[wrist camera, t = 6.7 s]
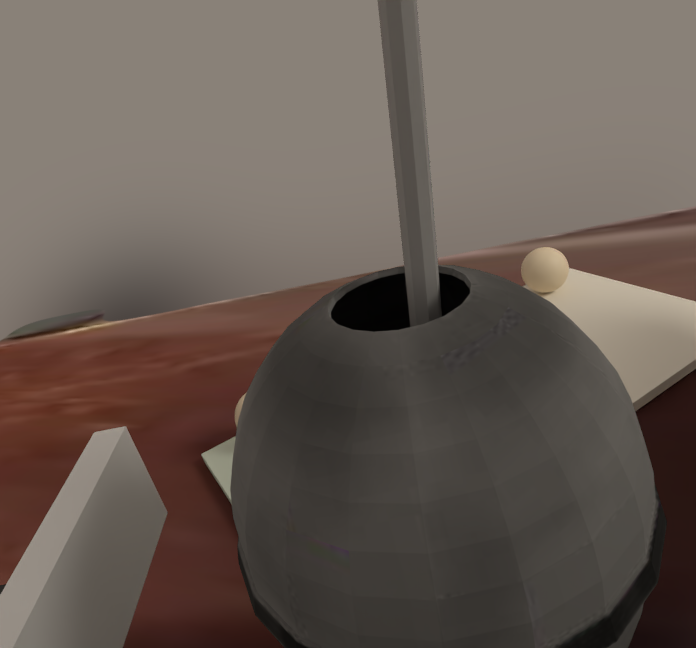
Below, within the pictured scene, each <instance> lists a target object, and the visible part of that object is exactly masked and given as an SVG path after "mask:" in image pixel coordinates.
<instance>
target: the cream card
mask: <svg viewBox="0 0 696 648" xmlns="http://www.w3.org/2000/svg"><path fill="white" fill-rule="evenodd" d="M521 274H522V278H523V280H524V282H525V284H526V285H524V286H522V287H524V288H526V289H528V290H530V291H532V292H534V293H535V294H537V295H539V296H541V297H542V298H544V299H546V300H548V301H550V302H551V303H552V304H554V305H555V306H556V307H557V308H558V309H559V310H560V311H562V312H563V313H564V314H565V315H566V316H567V317H569V318H570V319H571V320H572V321H573V322H574V323H575V324H576V325H577V326H578V327H579V328H580V329H581V330H582V331H583V332H584V333H585V334H586V335H587V336H588V337H589V338H590V339H591V340H592V341H593V342H594V343H595V344H596V345H597V346H598V348H599V349H600V350H601V351H602V353H603V354H604V355H605V357H606V358H607V359H608V360H609V362H610V363H611V364H612V365H613V367H614V368H615V369H616V371H617V372H618V374H619V376H620V378H621V380H622V382H623V384H624V386H625V388H626V390H627V392H628V394H629V396H630V398H631V400H632V403H633V407H634V410H635V411H637V410H638V409H640V408H641V407H642V406H644V405H645V404H647V403H648V402H649V401H651V400H652V399H654V398H655V397H656V396H658V395H659V394H661V393H662V392H664V391H665V390H666V389H668V388H669V387H671V386H672V385H673V384H675V383H676V382H678V381H679V380H680V379H682V378H683V377H685V376H686V375H687V374H689V373H690V372H692V371H693V370H695V369H696V302H695V301H691V300H687V299H684V298H680V297H676V296H672V295H669V294H665V293H661V292H657V291H653V290H650V289H646V288H642V287H638V286H635V285H631V284H627V283H623V282H620V281H616V280H612V279H608V278H604V277H601V276H597V275H593V274H589V273H586V272H582V271H578V270H574V269H570V268H569V266H568V262H567V260H566V258H565V256H564V255H563V254H562V253H561V252H559V251H558V250H556V249H553V248H549V247H542V248H538V249H535V250H533V251H532V252H530V253H529V254H528V255H527V256H526V257H525V259H524V261H523V263H522V267H521Z"/></svg>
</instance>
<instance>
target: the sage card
mask: <svg viewBox="0 0 696 648" xmlns="http://www.w3.org/2000/svg"><path fill="white" fill-rule="evenodd" d="M245 395H246V393H245V394H244V395H243V396H242V398H241V399H240V400H239V402H238V404H237V406H236V410H235V423H236V426H237V424H238V420H239V416H240V412H241V409H242V405H243V401H244V398H245ZM235 439H236V436H235V437H233V438H231V439H229V440H227V441H225V442H224V443H222V444H220V445H218V446H216V447H214V448H212V449H210V450H208V451H206V452H204V453H202V454H201V455H202V457H203V460H204V462H205V464H206V465H207V467H208V469H209V470H210V472H211V473H212V475H213V476H214V478H215V479H216V481H217V483H218V484H219V486H220V487H221V489H222V490H223V492H224V493H225V495H226V497H227V498H228V500H229V501H230V503H231V504H232V501H231V492H230V486H231V474H232V462H233V453H234V446H235Z"/></svg>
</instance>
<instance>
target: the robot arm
mask: <svg viewBox="0 0 696 648" xmlns="http://www.w3.org/2000/svg"><path fill="white" fill-rule="evenodd" d="M167 513H168V512H167V510H166V508H165V506H164V504H163V502H162V500H161V498H160V496H159V494H158V492H157V490H156V488H155V486H154V484H153V481H152V479H151V477H150V475H149V473H148V471H147V469H146V467H145V465H144V463H143V461H142V459H141V457H140V455H139V453H138V451H137V448H136V446H135V444H134V442H133V440H132V438H131V436H130V434H129V432H128V430H127V428H126V426H124V427H119V428H114V429H109V430H104V431H99V432H94V434H93V435H92V437H91V439H90V441H89V442H88V444H87V446H86V448H85V449H84V451H83V453H82V454H81V456H80V458H79V460H78V461H77V463H76V465H75V467H74V468H73V470H72V472H71V473H70V475H69V477H68V479H67V480H66V482H65V484H64V486H63V487H62V489H61V491H60V492H59V494H58V496H57V498H56V499H55V501H54V503H53V505H52V506H51V508H50V510H49V511H48V513H47V515H46V517H45V518H44V520H43V522H42V524H41V525H40V527H39V529H38V530H37V532H36V534H35V536H34V537H33V539H32V541H31V543H30V544H29V546H28V548H27V549H26V551H25V553H24V555H23V556H22V558H21V560H20V562H19V563H18V565H17V567H16V568H15V570H14V572H13V574H12V575H11V577H10V579H9V581H8V582H7V584H5V585H0V648H123V645H124V642H125V639H126V636H127V633H128V630H129V627H130V624H131V621H132V618H133V615H134V612H135V609H136V606H137V603H138V600H139V597H140V594H141V591H142V588H143V585H144V582H145V579H146V576H147V573H148V570H149V567H150V564H151V561H152V558H153V555H154V552H155V549H156V546H157V543H158V540H159V537H160V534H161V531H162V528H163V525H164V522H165V519H166V516H167Z"/></svg>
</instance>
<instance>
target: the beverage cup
mask: <svg viewBox="0 0 696 648" xmlns="http://www.w3.org/2000/svg"><path fill="white" fill-rule="evenodd" d="M378 7H379V17H380V28H381V37H382V48H383V57H384V68H385V77H386V88H387V98H388V108H389V118H390V128H391V138H392V146H393V158H394V168H395V177H396V187H397V198H398V208H399V217H400V228H401V238H402V248H403V258H404V266H403V267H396V268H391V269H387V270H383V271H378V272H375V273H373V274H370V275H367V276H365V277H362V278H359V279H357V280H354V281H352V282H349V283H347V284H345V285H343V286H341V287H339V288H338V289H336V290H334V291H332V292H330V293H329V294H327V295H325V296H323V297H322V298H321V299H320V300H319V301H317V302H316V303H315V304H314V305H313V306H311V307H310V308H309V309H308V310H307V311H305V312H304V313H303V314H302V315H301V316H300V317H298V318H297V319H296V320H295V321H294V322H293V323H291V324H290V325H289V326H288V327H287V328H286V330H285V331H284V332H283V334H282V335H281V336H280V337H279V339H278V340H277V341H276V343H275V344H274V345H273V347H272V348H271V350H270V351H269V353H268V355H267V356H266V358H265V359H264V361H263V363H262V364H261V366H260V367H259V369H258V371H257V373H256V375H255V377H254V379H253V381H252V383H251V385H250V387H249V389H248V391H247V393H246V395H245V398H244V401H243V405H242V409H241V412H240V416H239V420H238V424H237V431H236V439H235V446H234V453H233V462H232V474H231V486H230V492H231V501H232V511H233V519H234V522H235V525H236V529H237V532H238V535H239V538H238V559H239V565H240V569H241V572H242V575H243V578H244V581H245V584H246V587H247V591H248V594H249V597H250V600H251V603H252V606H253V609H254V612H255V615H256V616H257V617H258V618H259V620H260V621H261V622H262V623H263V624H264V625H265V626H266V627H267V629H268V630H269V631H270V632H271V633H272V634H273V635H274V636H275V638H276V639H277V640H278V641H279V642H280V643H281V644H282V645H283V646H284V648H628V647H629V644H630V642H631V639H632V637H633V634H634V632H635V629H636V627H637V624H638V622H639V619H640V617H641V614H642V609H643V603H644V602H645V600H646V599H647V597H648V596H649V595H650V593H651V592H652V590H653V589H654V587H655V586H656V584H657V583H658V578H659V572H660V565H661V558H662V552H663V545H664V538H665V532H666V525H667V521H666V518H665V515H664V512H663V508H662V505H661V502H660V499H659V496H658V493H657V489H656V486H655V483H654V472H653V469H652V465H651V462H650V458H649V454H648V451H647V447H646V444H645V441H644V437H643V434H642V431H641V428H640V425H639V422H638V419H637V416H636V413H635V410H634V407H633V403H632V400H631V398H630V396H629V394H628V392H627V390H626V388H625V386H624V384H623V382H622V380H621V378H620V376H619V374H618V372H617V371H616V369H615V368H614V367H613V365H612V364H611V363H610V362H609V360H608V359H607V358H606V357H605V355H604V354H603V353H602V351H601V350H600V349H599V348H598V346H597V345H596V344H595V343H594V342H593V341H592V340H591V339H590V338H589V337H588V336H587V335H586V334H585V333H584V332H583V331H582V330H581V329H580V328H579V327H578V326H577V325H576V324H575V323H574V322H573V321H572V320H571V319H570V318H569V317H567V316H566V315H565V314H564V313H563V312H562V311H560V310H559V309H558V308H557V307H556V306H555V305H554V304H552V303H551V302H550V301H548V300H546V299H544V298H542V297H541V296H539V295H537V294H535V293H534V292H532V291H530V290H528V289H526V288H524V287H522V286H520V285H518V284H516V283H513V282H511V281H509V280H507V279H505V278H503V277H500V276H497V275H493V274H490V273H487V272H483V271H480V270H476V269H470V268H465V267H460V266H455V265H438V258H437V246H436V234H435V221H434V209H433V197H432V184H431V173H430V160H429V147H428V135H427V123H426V110H425V98H424V86H423V73H422V61H421V49H420V36H419V24H418V12H417V0H378Z"/></svg>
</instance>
